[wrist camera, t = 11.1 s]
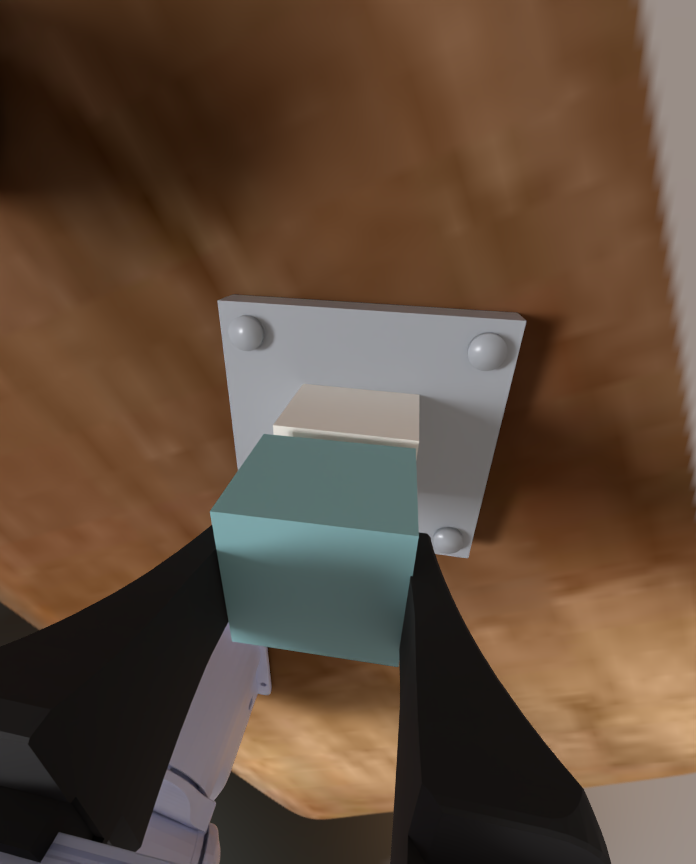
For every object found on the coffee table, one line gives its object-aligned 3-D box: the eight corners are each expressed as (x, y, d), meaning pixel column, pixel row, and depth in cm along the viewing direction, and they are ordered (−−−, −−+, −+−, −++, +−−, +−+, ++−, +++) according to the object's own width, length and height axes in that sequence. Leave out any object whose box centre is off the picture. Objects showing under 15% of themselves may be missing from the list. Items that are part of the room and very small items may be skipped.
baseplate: (465, 537, 21) (468, 564, 20) (254, 509, 23) (242, 531, 21) (517, 312, 16) (529, 323, 14) (233, 294, 17) (212, 301, 16)
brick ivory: (406, 491, 19) (403, 552, 15) (305, 478, 19) (279, 534, 16) (419, 394, 16) (419, 441, 13) (303, 383, 17) (272, 425, 13)
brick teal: (400, 562, 15) (398, 667, 11) (272, 545, 15) (232, 641, 12) (415, 448, 12) (418, 536, 9) (263, 433, 13) (209, 511, 9)
